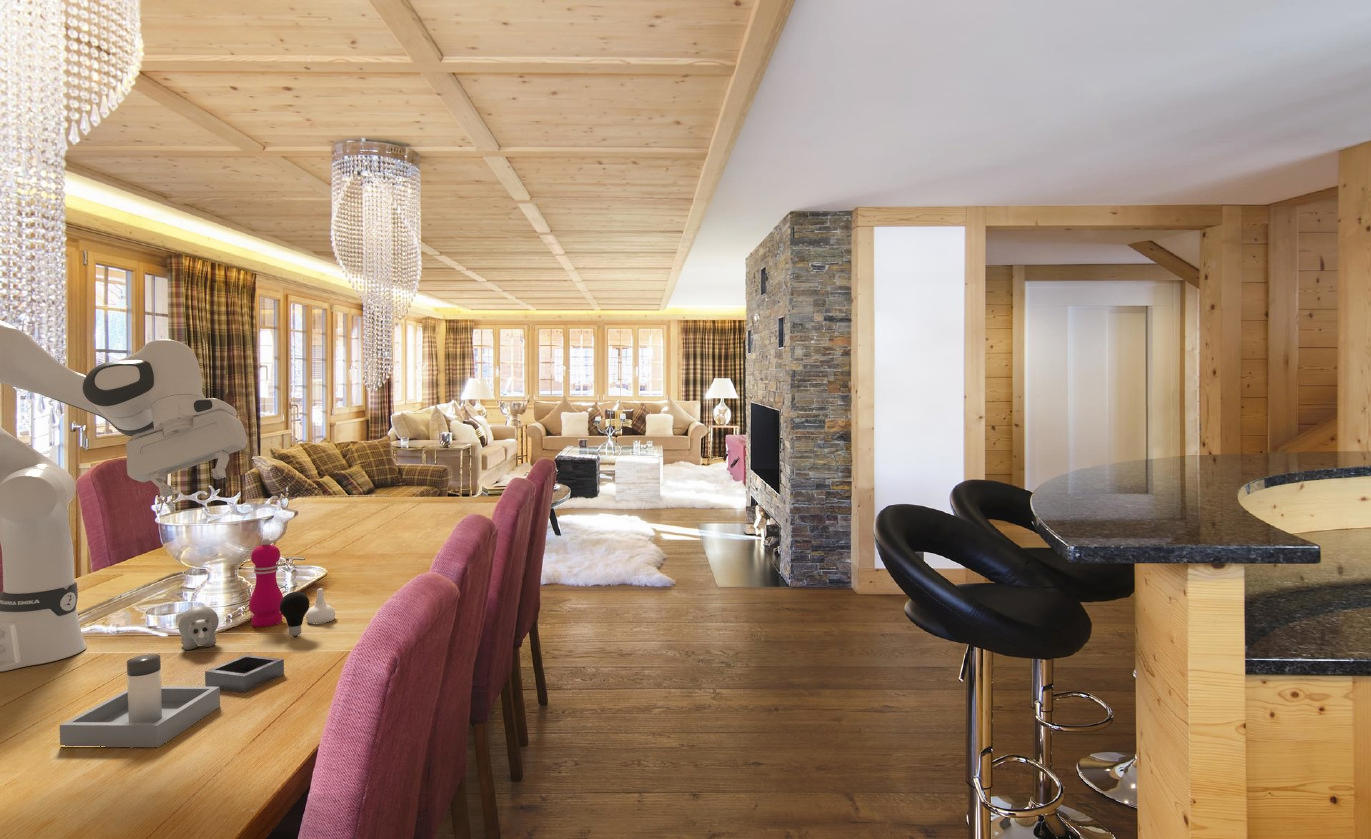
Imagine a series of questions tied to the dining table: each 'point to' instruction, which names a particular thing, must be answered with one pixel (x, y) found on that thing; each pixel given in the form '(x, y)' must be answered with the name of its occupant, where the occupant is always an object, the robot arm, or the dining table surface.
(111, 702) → the slate tray
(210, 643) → the chubby cartoon animal
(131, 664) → the salt shaker
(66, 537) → the robot arm
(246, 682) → the socket collar
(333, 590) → the dining table surface
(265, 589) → the pepper mill
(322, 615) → the garlic bulb
